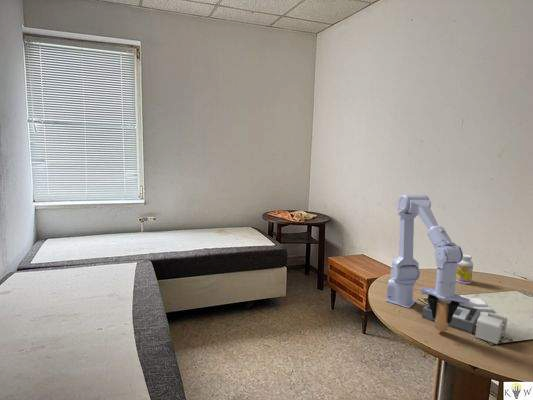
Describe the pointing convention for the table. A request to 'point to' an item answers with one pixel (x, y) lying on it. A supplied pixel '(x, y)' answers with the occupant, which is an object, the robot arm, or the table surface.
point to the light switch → (479, 304)
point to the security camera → (491, 327)
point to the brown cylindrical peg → (441, 315)
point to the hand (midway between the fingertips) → (441, 319)
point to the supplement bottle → (465, 270)
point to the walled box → (458, 317)
